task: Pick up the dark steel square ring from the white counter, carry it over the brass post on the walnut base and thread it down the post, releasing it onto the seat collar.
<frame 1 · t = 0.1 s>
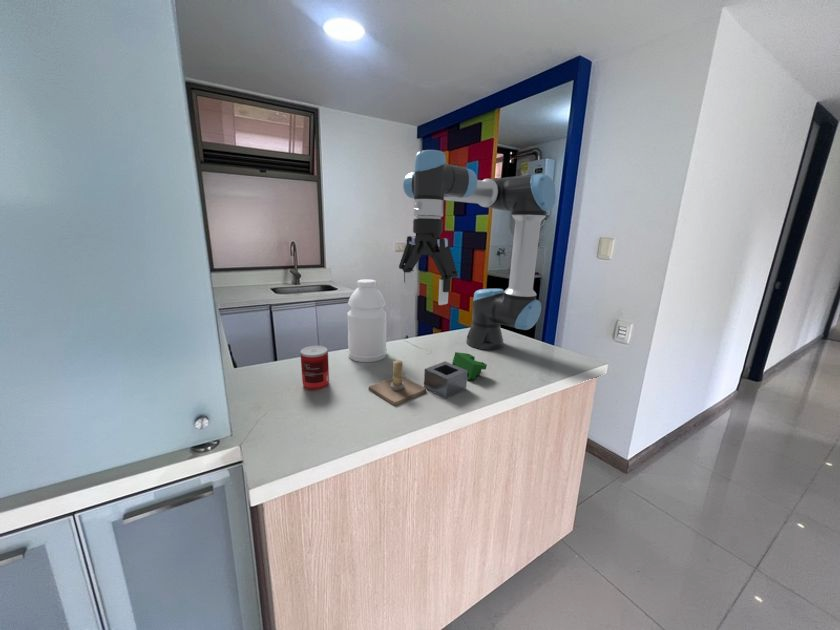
hand: (425, 299, 91), 28 cm above the counter, fingers open, 13 cm apart
bottle: (367, 356, 124), on the counter
ring: (445, 388, 101), on the counter
post: (397, 390, 98), on the counter
clamp: (468, 374, 112), on the counter
canned food: (316, 384, 101), on the counter
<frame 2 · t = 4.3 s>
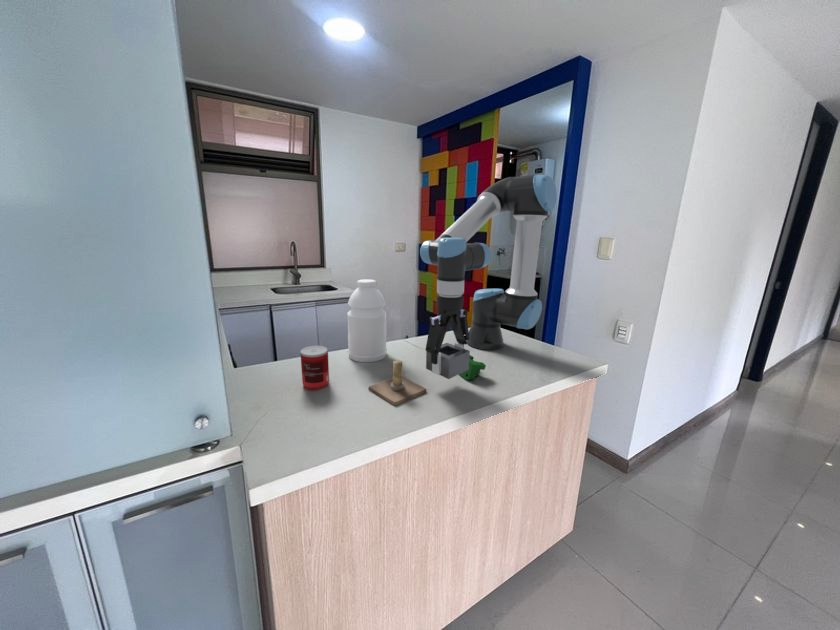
hand: (447, 368, 100), 6 cm above the counter, fingers closed on ring, 9 cm apart
ring: (447, 369, 100), point 6 cm above the counter, touching gripper
everything else where it was.
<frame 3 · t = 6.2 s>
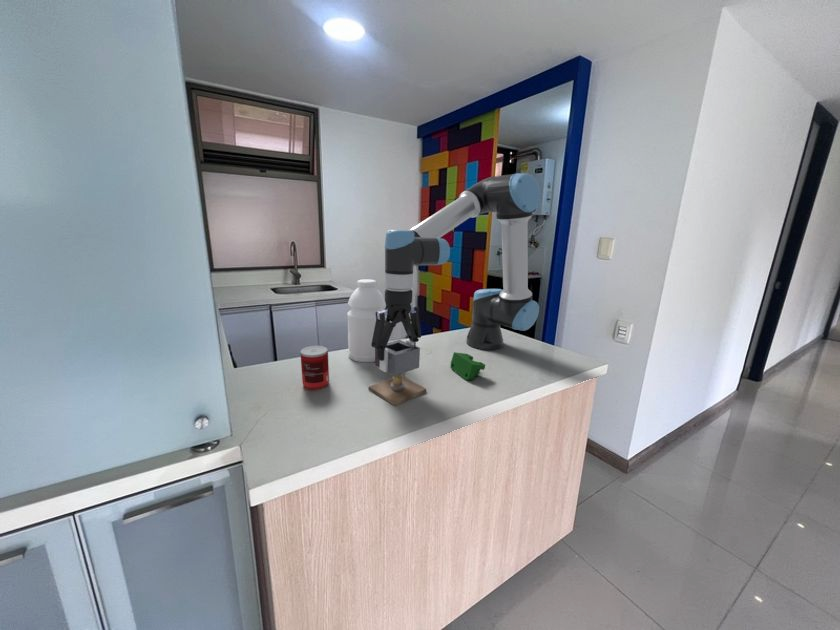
hand: (397, 365, 96), 8 cm above the counter, fingers closed on ring, 9 cm apart
ring: (397, 366, 96), point 8 cm above the counter, touching gripper
everything else where it was.
when the fingers open (1 cm above the counter, at t = 8.3 s): ring stays where it is, resting on post.
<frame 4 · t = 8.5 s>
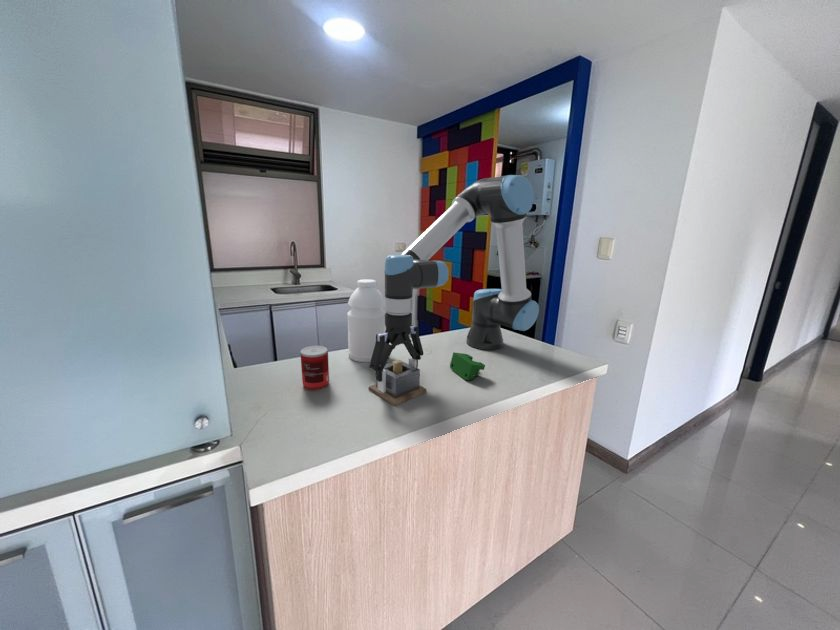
hand: (397, 384, 98), 2 cm above the counter, fingers open, 11 cm apart
ring: (397, 387, 98), point 1 cm above the counter, touching post
everything else where it was.
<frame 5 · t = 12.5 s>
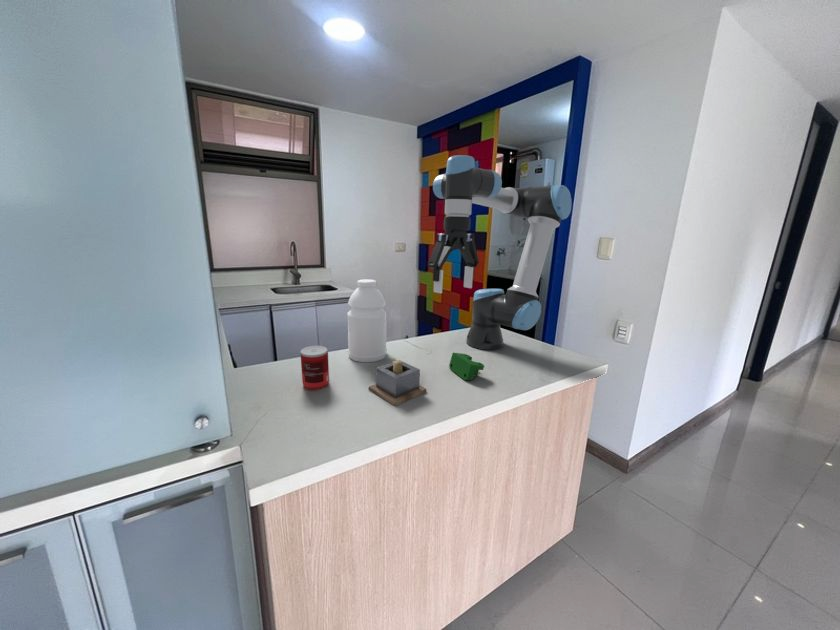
hand: (453, 290, 100), 29 cm above the counter, fingers open, 13 cm apart
at the end: ring 0.1 cm from the post (horizontally); ring point 1.0 cm above the counter; the gripper is holding nothing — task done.
